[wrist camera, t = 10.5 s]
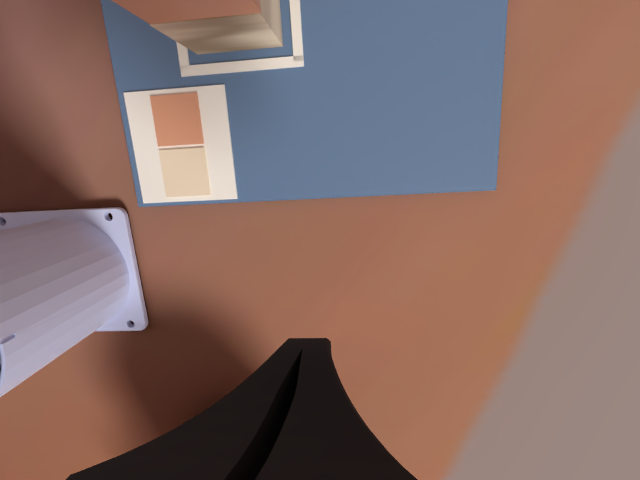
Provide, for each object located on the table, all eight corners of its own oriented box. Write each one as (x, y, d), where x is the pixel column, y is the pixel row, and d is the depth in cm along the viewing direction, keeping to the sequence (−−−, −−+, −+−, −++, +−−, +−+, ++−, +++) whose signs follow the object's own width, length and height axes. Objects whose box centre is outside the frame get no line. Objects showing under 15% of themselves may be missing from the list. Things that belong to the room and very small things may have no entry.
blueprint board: (144, 205, 21) (136, 207, 21) (94, -70, 18) (83, -80, 17) (491, 188, 19) (497, 190, 19) (510, -125, 16) (518, -139, 15)
